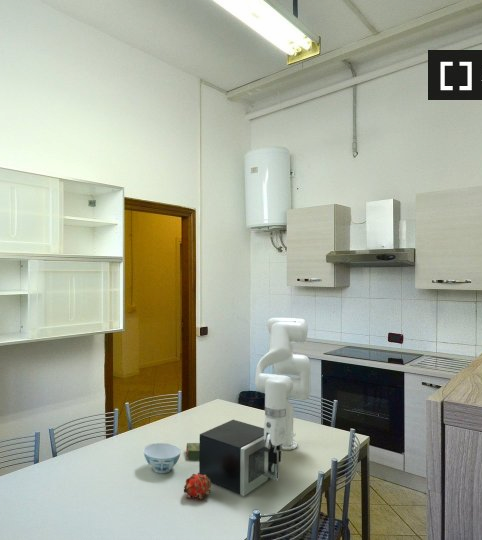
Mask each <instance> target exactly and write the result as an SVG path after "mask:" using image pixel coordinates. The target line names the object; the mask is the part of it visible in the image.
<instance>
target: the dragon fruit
mask: <svg viewBox="0 0 482 540" xmlns="http://www.w3.org/2000/svg"><path fill="white" fill-rule="evenodd" d="M211 484H212V483H211V482H210V478H208V477H207V475H202V474H200V473H199V472H197V474H195V473H192V475H190V476H189V477H188V478H186V480H185V484H184V487H183V493H184V494H187V495H186V497H187V499H188V498H189V499H194V498H198V499H199V500H202V499H204V497H205V496H206V495H210V493H211V491H212V489H211V488H212V485H211Z"/></svg>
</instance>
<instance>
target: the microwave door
mask: <svg viewBox="0 0 482 540" xmlns="http://www.w3.org/2000/svg"><path fill="white" fill-rule="evenodd" d="M265 444H266V443H265V442H264V436H262V437H261V438H259V439H257V440H255V441H253V442H251V443H250V444H248V445H246V446H244V447H242V448H241V457H240V495H239V496H242V497H246V495H248V494H249V493H251V492H252V491H254V490H255V489H256V488H258V487H259V486H261V485H262V484H264V483H265V482H267V481H269V480H268V479H272V480H274V481H279V480H280V479H279V478H280V472H279V471H280V469H279V468H280V462H279V450H278V449H276V453H277V464H274V473H272V472H269V471H268V452H269V451H268V449H267V448H265ZM268 477H269V478H268Z"/></svg>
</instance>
